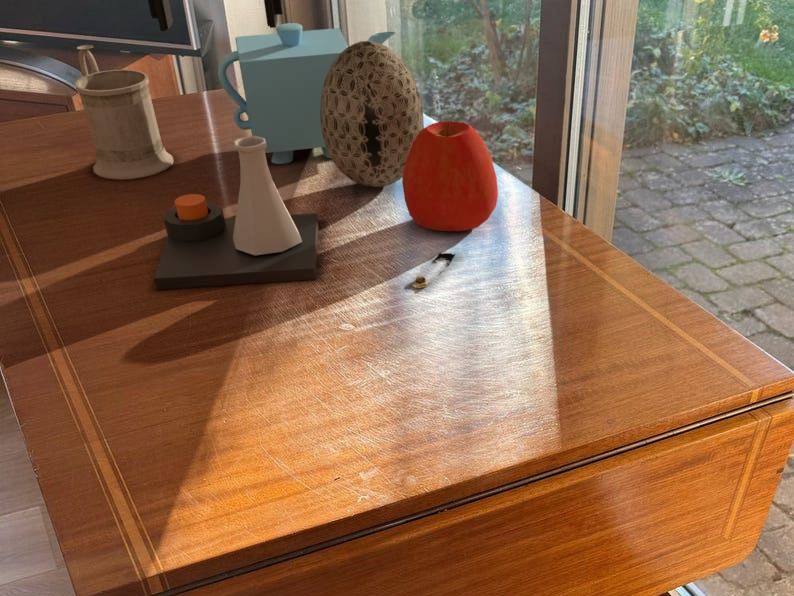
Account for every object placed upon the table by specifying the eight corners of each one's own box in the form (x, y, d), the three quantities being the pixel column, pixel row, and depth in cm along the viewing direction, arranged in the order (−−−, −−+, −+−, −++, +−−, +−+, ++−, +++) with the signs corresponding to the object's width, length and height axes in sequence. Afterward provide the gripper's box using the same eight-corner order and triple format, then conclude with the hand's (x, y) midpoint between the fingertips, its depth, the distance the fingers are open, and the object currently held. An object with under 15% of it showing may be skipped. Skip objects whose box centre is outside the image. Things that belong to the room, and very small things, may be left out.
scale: (156, 290, 99) (148, 260, 97) (174, 230, 109) (167, 203, 107) (315, 279, 100) (311, 250, 97) (319, 222, 110) (315, 194, 108)
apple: (416, 248, 104) (408, 143, 97) (396, 211, 111) (388, 111, 104) (508, 235, 106) (508, 131, 98) (483, 200, 113) (481, 100, 106)
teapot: (235, 170, 121) (211, 44, 112) (231, 140, 129) (208, 20, 119) (410, 152, 124) (401, 28, 115) (396, 124, 132) (387, 5, 122)
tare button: (176, 223, 104) (172, 206, 103) (180, 211, 106) (176, 194, 105) (207, 221, 104) (203, 204, 103) (210, 209, 106) (206, 193, 105)
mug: (186, 166, 123) (161, 58, 115) (111, 185, 119) (80, 75, 110) (139, 136, 131) (113, 34, 123) (68, 153, 127) (36, 49, 119)
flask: (314, 245, 103) (299, 143, 96) (251, 263, 100) (231, 160, 93) (283, 222, 107) (266, 124, 100) (221, 239, 104) (200, 139, 97)
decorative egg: (426, 164, 121) (418, 25, 111) (428, 201, 113) (419, 54, 103) (331, 168, 121) (314, 29, 111) (326, 206, 113) (307, 59, 102)
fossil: (439, 258, 103) (439, 250, 103) (456, 259, 103) (456, 252, 102) (410, 290, 98) (409, 282, 97) (427, 292, 97) (427, 284, 97)
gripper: (290, -228, 81) (316, 13, 93) (77, -224, 80) (131, 18, 92) (285, -221, 76) (313, 33, 88) (56, -217, 75) (117, 39, 87)
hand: (220, 25), depth 90 cm, fingers open, 9 cm apart
